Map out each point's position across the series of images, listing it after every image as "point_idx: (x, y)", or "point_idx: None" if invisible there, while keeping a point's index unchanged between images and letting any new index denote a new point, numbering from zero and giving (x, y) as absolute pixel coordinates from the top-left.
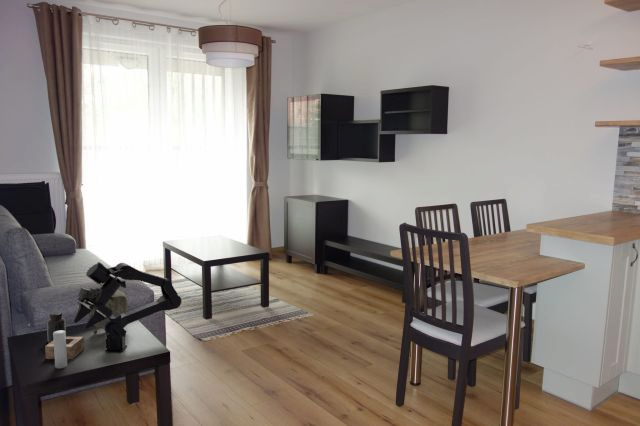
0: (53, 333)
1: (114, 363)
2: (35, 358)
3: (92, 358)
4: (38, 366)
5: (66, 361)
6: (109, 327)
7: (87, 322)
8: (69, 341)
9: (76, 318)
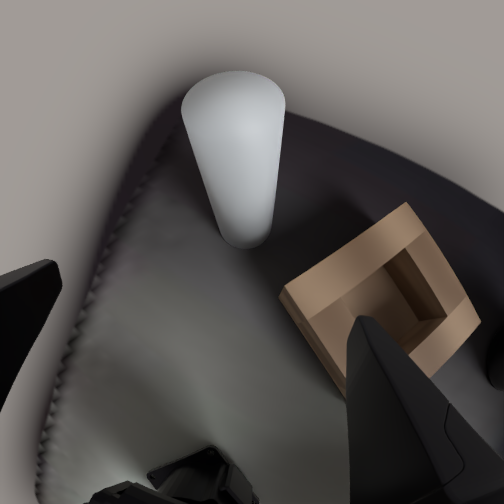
0: (247, 72)
1: (73, 372)
2: (413, 207)
3: (198, 363)
4: (324, 170)
5: (220, 229)
6: (93, 500)
7: (3, 282)
8: (407, 348)
9: (366, 352)
